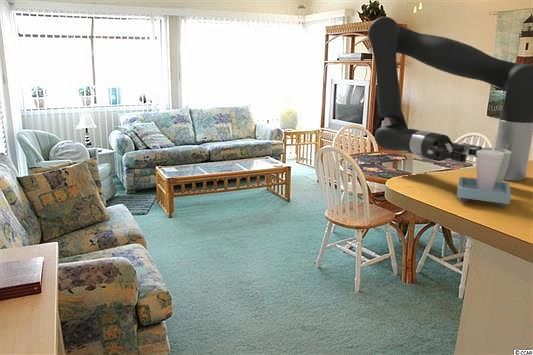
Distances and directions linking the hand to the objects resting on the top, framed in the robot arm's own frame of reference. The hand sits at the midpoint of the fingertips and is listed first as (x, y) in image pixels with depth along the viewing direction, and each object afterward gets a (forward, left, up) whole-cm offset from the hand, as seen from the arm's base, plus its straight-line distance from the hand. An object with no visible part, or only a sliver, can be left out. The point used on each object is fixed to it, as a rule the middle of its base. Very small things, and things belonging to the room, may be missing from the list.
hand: (477, 157), depth 113 cm
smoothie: (+1, +3, -8) cm, 9 cm away
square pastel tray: (+2, +2, -10) cm, 11 cm away
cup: (-15, +4, -11) cm, 19 cm away
